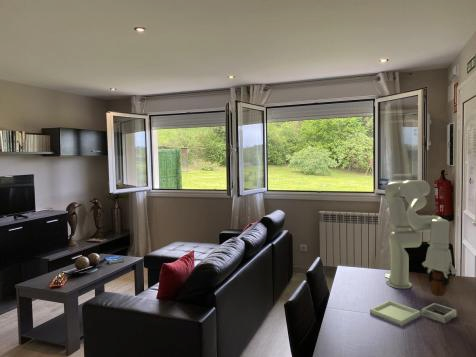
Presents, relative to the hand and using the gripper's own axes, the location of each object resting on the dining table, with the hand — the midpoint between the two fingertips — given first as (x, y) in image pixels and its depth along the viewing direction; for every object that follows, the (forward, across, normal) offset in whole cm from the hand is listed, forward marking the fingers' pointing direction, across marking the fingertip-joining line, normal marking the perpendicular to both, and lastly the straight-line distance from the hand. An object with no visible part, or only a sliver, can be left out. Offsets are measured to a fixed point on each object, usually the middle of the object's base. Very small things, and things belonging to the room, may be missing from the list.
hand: (438, 282), depth 169 cm
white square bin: (+16, +1, 0) cm, 16 cm away
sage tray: (+16, -12, -15) cm, 25 cm away
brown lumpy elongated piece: (+6, 0, 0) cm, 6 cm away
